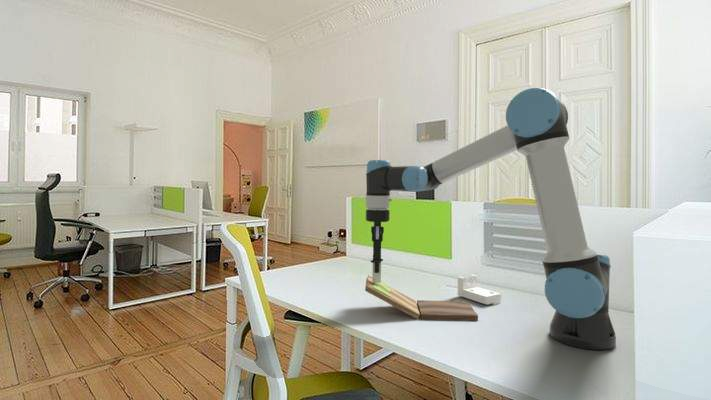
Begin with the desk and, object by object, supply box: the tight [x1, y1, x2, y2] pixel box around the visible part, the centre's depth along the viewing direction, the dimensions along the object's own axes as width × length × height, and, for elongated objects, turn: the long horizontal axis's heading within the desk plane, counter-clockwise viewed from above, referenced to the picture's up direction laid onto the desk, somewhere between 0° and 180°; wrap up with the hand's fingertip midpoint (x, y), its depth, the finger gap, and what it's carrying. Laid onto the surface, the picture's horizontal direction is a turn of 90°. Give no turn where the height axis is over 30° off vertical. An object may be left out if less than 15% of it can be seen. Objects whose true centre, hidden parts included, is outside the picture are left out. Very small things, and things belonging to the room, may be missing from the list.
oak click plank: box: [364, 275, 420, 320], centre depth 125 cm, size 14×18×2 cm
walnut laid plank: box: [416, 299, 479, 321], centre depth 124 cm, size 14×17×2 cm
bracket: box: [457, 274, 502, 306], centre depth 137 cm, size 13×7×8 cm, turn 31°
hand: (376, 282), depth 125 cm, fingers closed
